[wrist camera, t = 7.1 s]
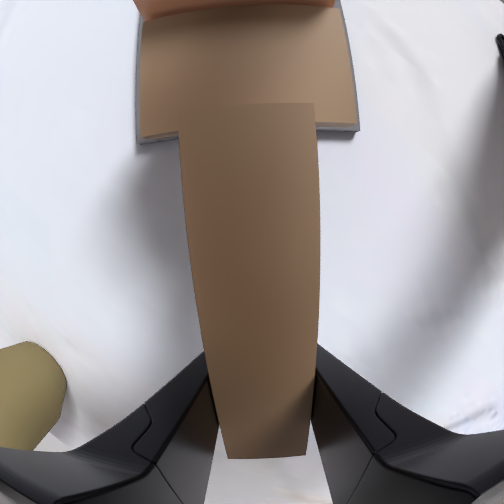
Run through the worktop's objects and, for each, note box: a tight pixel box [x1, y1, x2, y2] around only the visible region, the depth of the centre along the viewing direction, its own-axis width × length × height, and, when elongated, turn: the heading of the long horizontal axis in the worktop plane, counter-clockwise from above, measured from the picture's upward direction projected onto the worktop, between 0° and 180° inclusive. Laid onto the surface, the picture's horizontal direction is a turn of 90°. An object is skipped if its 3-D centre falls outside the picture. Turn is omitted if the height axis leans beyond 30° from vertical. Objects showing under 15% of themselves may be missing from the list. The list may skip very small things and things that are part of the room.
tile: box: [133, 0, 336, 21], centre depth 8 cm, size 6×2×9 cm, turn 93°
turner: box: [140, 4, 357, 459], centre depth 7 cm, size 6×14×3 cm, turn 3°
